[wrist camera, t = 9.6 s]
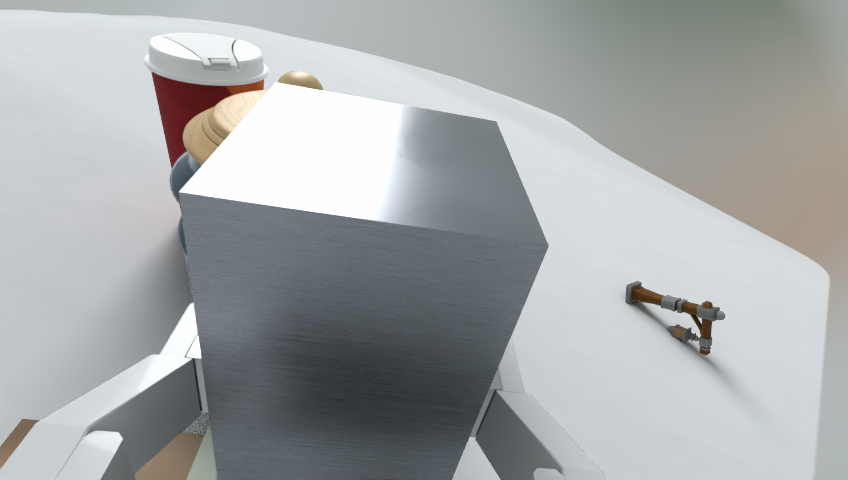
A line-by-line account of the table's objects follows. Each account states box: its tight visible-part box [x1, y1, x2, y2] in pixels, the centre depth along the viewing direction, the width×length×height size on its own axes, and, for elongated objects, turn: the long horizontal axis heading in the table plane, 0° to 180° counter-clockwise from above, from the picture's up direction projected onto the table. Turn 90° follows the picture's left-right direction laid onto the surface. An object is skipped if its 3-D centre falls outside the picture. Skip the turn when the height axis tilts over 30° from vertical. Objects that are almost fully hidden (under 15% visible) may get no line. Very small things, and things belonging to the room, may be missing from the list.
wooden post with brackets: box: [625, 281, 725, 355], centre depth 40 cm, size 2×8×4 cm, turn 32°
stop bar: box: [179, 83, 548, 480], centre depth 11 cm, size 4×4×13 cm
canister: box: [170, 71, 324, 305], centre depth 28 cm, size 13×13×18 cm
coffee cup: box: [144, 33, 269, 209], centre depth 37 cm, size 8×8×15 cm
